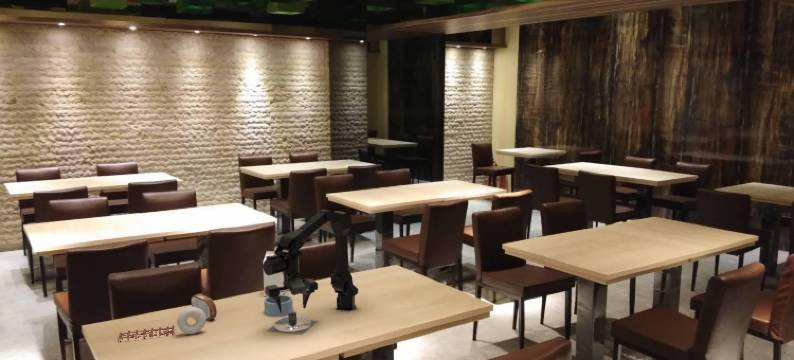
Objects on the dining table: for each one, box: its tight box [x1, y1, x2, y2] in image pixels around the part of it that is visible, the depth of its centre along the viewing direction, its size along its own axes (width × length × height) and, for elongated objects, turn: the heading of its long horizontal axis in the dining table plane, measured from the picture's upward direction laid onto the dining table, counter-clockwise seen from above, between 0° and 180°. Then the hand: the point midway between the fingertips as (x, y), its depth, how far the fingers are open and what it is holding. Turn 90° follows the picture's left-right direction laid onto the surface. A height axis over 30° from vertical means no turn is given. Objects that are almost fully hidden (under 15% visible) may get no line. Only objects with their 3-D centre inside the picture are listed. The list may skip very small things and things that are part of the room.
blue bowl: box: [263, 294, 294, 318], centre depth 243 cm, size 11×11×6 cm
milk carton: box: [262, 250, 287, 297], centre depth 264 cm, size 7×7×19 cm
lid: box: [273, 311, 312, 334], centre depth 228 cm, size 14×14×5 cm
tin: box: [190, 293, 218, 321], centre depth 239 cm, size 15×3×8 cm, turn 47°
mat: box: [266, 316, 318, 336], centre depth 228 cm, size 14×14×1 cm
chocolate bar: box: [118, 324, 176, 341], centre depth 221 cm, size 7×19×2 cm, turn 109°
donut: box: [176, 306, 207, 335], centre depth 222 cm, size 10×3×10 cm, turn 113°
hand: (292, 310), depth 227 cm, fingers open, 9 cm apart
